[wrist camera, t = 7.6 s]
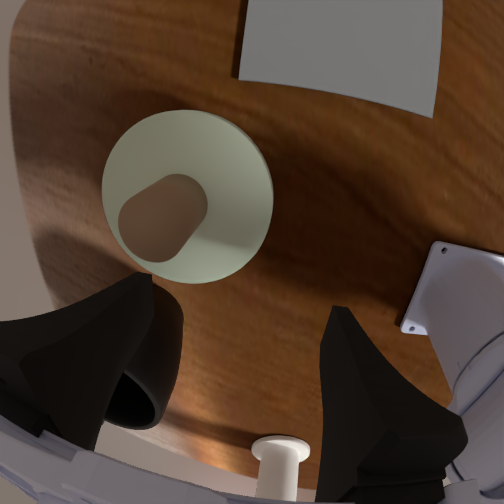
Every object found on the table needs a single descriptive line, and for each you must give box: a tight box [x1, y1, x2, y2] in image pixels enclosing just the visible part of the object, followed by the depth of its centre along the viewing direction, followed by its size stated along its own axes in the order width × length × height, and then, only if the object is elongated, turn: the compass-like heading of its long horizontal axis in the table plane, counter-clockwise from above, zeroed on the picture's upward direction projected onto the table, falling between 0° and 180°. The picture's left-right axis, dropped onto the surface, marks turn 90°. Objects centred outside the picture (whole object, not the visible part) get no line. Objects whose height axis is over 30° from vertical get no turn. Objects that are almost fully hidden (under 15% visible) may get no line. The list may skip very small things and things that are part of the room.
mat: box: [238, 0, 442, 118], centre depth 14 cm, size 12×10×1 cm
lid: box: [102, 110, 274, 283], centre depth 14 cm, size 9×9×5 cm
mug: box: [102, 285, 184, 430], centre depth 22 cm, size 8×12×10 cm
